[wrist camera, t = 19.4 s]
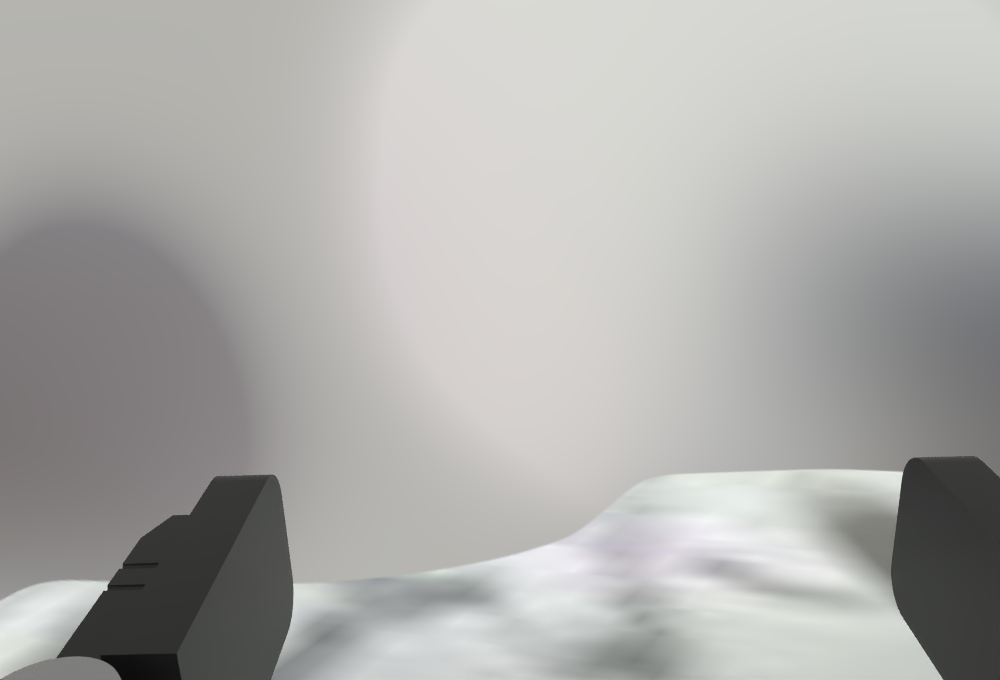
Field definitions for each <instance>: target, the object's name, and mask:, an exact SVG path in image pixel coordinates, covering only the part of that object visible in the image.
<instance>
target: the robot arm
mask: <svg viewBox="0 0 1000 680" xmlns="http://www.w3.org/2000/svg"><path fill="white" fill-rule="evenodd" d="M891 576H892V586H893V592H894V596H895V600H896V603H897V606H898V609H899V611H900V613H901V615H902V617H903V618H904V620H905V622H906V623H907V625H908V626H909V628H910V629H911V631H912V632H913V634H914V635H915V637H916V638H917V640H918V641H919V643H920V644H921V646H922V648H923V649H924V651H925V652H926V654H927V655H928V657H929V658H930V660H931V661H932V663H933V664H934V666H935V667H936V669H937V670H938V672H939V674H940V675H941V677H942V678H943V680H1000V478H999V477H998V476H997V475H996V474H995V473H994V472H993V471H992V470H991V469H990V468H989V467H988V466H987V465H986V464H985V463H984V462H982V461H981V460H980V459H979V458H977V457H974V456H959V457H922V458H912V459H910V460H909V461H908V463H907V464H906V466H905V469H904V472H903V477H902V484H901V492H900V500H899V508H898V516H897V524H896V532H895V540H894V549H893V557H892V566H891ZM292 609H293V578H292V570H291V562H290V555H289V547H288V539H287V532H286V524H285V517H284V509H283V501H282V495H281V489H280V485H279V482H278V479H277V478H276V476H275V475H248V476H246V475H245V476H217V477H215V478H214V479H213V480H212V481H211V483H210V485H209V486H208V487H207V489H206V491H205V492H204V494H203V495H202V497H201V498H200V500H199V501H198V503H197V505H196V506H195V508H194V509H193V511H192V512H191V514H190V515H175V516H174V515H173V516H172V517H170V518H169V519H167V520H166V521H164V522H163V523H162V524H160V525H159V526H157V527H156V528H154V529H153V530H152V531H150V532H149V533H147V534H146V535H145V536H143V537H142V538H141V539H140V540H139V541H138V543H137V544H136V546H135V547H134V549H133V550H132V551H131V553H130V554H129V556H128V557H127V559H126V560H125V561H124V563H123V569H119V570H118V571H117V573H116V574H115V576H114V577H113V578H112V580H111V581H110V583H109V584H108V590H107V591H103V593H102V594H101V595H100V597H99V598H98V600H97V601H96V603H95V604H94V605H93V607H92V608H91V610H90V611H89V612H88V614H87V615H86V617H85V618H84V620H83V621H82V622H81V624H80V625H79V627H78V628H77V629H76V631H75V632H74V634H73V635H72V637H71V638H70V639H69V641H68V642H67V644H66V645H65V647H64V648H63V649H62V651H61V652H60V654H59V655H58V656H57V658H55V659H50V660H46V661H42V662H39V663H36V664H33V665H30V666H27V667H24V668H22V669H20V670H18V671H15V672H13V673H11V674H9V675H8V676H6V677H4V678H2V679H0V680H271V678H272V675H273V672H274V669H275V666H276V664H277V661H278V658H279V655H280V653H281V650H282V647H283V644H284V641H285V639H286V636H287V633H288V630H289V627H290V622H291V617H292Z"/></svg>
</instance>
